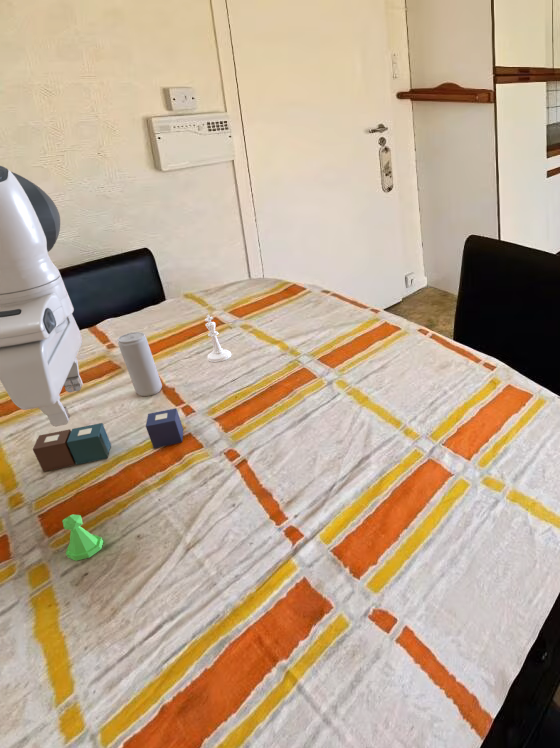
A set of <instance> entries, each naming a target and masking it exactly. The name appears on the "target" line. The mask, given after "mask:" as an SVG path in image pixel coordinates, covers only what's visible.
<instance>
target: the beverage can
mask: <svg viewBox="0 0 560 748" xmlns="http://www.w3.org/2000/svg"><path fill="white" fill-rule="evenodd" d="M117 341H118V342H117V345H118V347H119V351H120V353H121V355H122V356H121V357H122V358H123V361H124V364H125V366H126V369H127V372H128V374H129V377H130V380H131V382H132V386H133V388H134V391H135V394H137V395H138V396H141V397H150V396H153V395H156V394H158V393H160V391H161V390H162V388H163V384H162V381H161V378H160V375H159V372H158V368H157V366H156V363H155V360H154V356H153V354H152V350H151V348H150V345H149V342H148V339H147V336H145V333H144V332H142V331H133V332H128V333H124V334H122V335H120V336H119V337H117Z"/></svg>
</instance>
